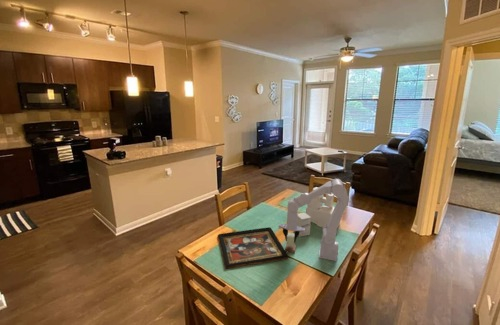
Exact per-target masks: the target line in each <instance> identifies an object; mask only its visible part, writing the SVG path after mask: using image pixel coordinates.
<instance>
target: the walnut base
mask: <svg viewBox="0 0 500 325" xmlns="http://www.w3.org/2000/svg"><path fill="white" fill-rule="evenodd" d="M284 250H285V251H286V253H289V254H296V250H297V244H295V243H294V246H291V245H287V242H286V244H285V247H284Z"/></svg>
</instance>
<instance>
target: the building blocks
mask: <svg viewBox="0 0 500 325" xmlns="http://www.w3.org/2000/svg"><path fill="white" fill-rule="evenodd" d="M319 187H320V186H318V187H317V186H314V187H313V188H312V190H311V192H312V191H314V190H315V189H317V188H319ZM324 195H325V196H324ZM334 197H335V195H334V194H333V193H331V195H330V194H327V193H324V194H322V195H320V196H318V197H315V198H313V199H312V200H311V202H310V203H308V204H306V206H305V213H306V214H307V215H309V216H310V217H311V223H313V224H316V226H317V227H320V228H322V229H323V228H324V227H325V226H326V224H327V223H328V222H329V220H330V218H331V215H332V213H333V210H334V208H335V206H334V199H335V198H334ZM323 204H324V205H323ZM340 225H341V221H340V222H339V225H338V227H339V226H340Z"/></svg>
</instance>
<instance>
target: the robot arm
mask: <svg viewBox="0 0 500 325" xmlns="http://www.w3.org/2000/svg"><path fill="white" fill-rule="evenodd" d="M318 187H319V188H317V189H315V190H314V191H312V190H311V191H310V192H302V193H300V194H299V195H298V196H296V197H295V196H294V197H293V198H289V200H288V201H287V205H286V206H287V213H286V223H279V224H278V229H282V233H283V235H284V238H285V242H287V235H288V233H289V232H294V231H295V232H294V234H295V238H294V244H295V243H296V242H297V239H298V237H299V233H300V232H302V233H304V232H305V228H301V227H299V226H297V218H298V214H299V213H298V210H299V208H302V207H304V206H307V204H308V203H310V202H311V200H312V199H313V198H315V197H318V196H320V195H322V194H324V193H327V194H330V195H331V194H334V197H336V198H337V201H336V203H335V206H334V207H335V208H334V210H333V213H332V215H331V218H330V220H329V222H328V223H327V224H326V226H325V227H324V228H322V230H321V232H322V237H320V238H321V240H320V247H319V252H318V258H319V259H323V260H324V259H325V260H329V261H334V262H337V261H338V256H339V241H336V235H337V232H338V231H337V229H338V227H339V226H340V225H339V222H340V223H341V220H342V217H343V215H344V214H345V211H346V208H347V206H348V204H349V201H350V199H349V198H350V197H349V196H348V195H349V194H348V190H347V189H346V186H345V183H343V181H342V180H341V179H340V178H334V179H332V180H329V181H326V182H325V183H324V184H322V185H321V186H318ZM324 195H325V194H324ZM338 225H339V226H338Z"/></svg>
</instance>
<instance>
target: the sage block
mask: <svg viewBox="0 0 500 325" xmlns="http://www.w3.org/2000/svg"><path fill="white" fill-rule="evenodd" d="M294 238H295V232H294V233H293V232H288V235H287V241H286V243H287V245H291V246H294V244H295V243H294Z"/></svg>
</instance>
